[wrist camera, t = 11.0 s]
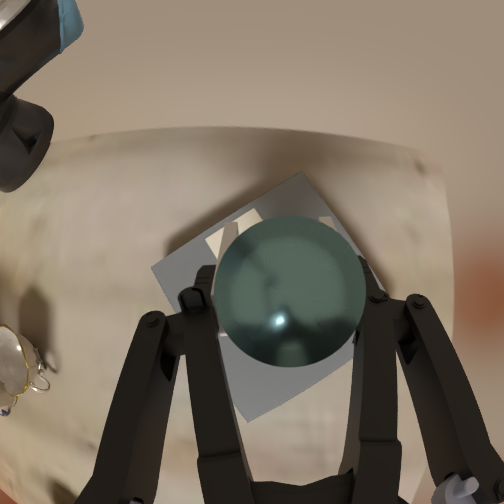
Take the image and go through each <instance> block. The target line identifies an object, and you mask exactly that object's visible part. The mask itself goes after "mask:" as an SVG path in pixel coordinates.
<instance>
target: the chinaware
mask: <svg viewBox="0 0 504 504" xmlns="http://www.w3.org/2000/svg"><path fill="white" fill-rule="evenodd" d="M41 362H42V360H41V358H40V355H39V352H38V348H34V347H33V346H32V344H31V343H30V342H29V341H28V340H27V339H26V338H25V337H24V336H22V335H20V334H18V333H15V332H14V331H13V330H12V329H11V328H9V326H8V325H6V324H4V325H1V326H0V416H8V415H9V414H10V411H11V407H13V406H14V405H15V404H16V402H17V396H19V395H21V394H23V393H24V392H25V391H26V390H27V389H28V388H29V386H30V387H31V388H32V389H33V390H35V391H36V392H39V393H46V392H48V391H49V390H50V384H49V382H48V381H47V380H46V379H45V378H43V377H42V376H43V375H44V373H45V372H44V371H43V370H42V369H40V370H39V368H40V365H41ZM37 374H38V375H39V377H40V378H41V379H42V380H43V381H44V382H46V384H47V385H48V389H45V390H43V389H39V388H36V387H34V385H35V384H34V381H35V379H36V377H37Z"/></svg>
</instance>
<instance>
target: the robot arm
mask: <svg viewBox="0 0 504 504" xmlns="http://www.w3.org/2000/svg"><path fill="white" fill-rule="evenodd" d="M83 29H84V25H83V21H82V18H81V15H80V12H79V9H78V7H77V4H76V2H75V0H0V191H2V192H5V193H8V192H12V191H14V190H16V189H17V188H19V187H20V186H21V185H22V184H23V183H24V182H25V181H26V180H27V179H28V178H29V177H30V176H31V175H32V173H33V172H34V171H35V169H36V168H37V166H38V165H39V163H40V162H41V160H42V158H43V156H44V154H45V152H46V150H47V148H48V146H49V144H50V141H51V138H52V134H53V129H54V120H53V117H52V115H51V114H50V113H49V112H48V111H46V109H44V108H43V107H41V106H38V105H36V104H32V103H30V102H27V101H24V100H21V99H18V98H17V97H15V96H14V95H13V93H14V92H15V91H16V90H17V89H18V88H19V87H20V86H21V85H22V84H23V83H24V82H25V81H26V80H28V79H29V78H30V77H31V76H32V75H33V74H34V73H36V72H37V71H38V70H39V69H40V68H41V67H43V66H44V65H45V64H46V63H48V62H49V61H50V60H52V59H53V58H54V57H55V56H57V55H58V54H61V53H62V52H63V50H64V49H65V48H66V47H68V46H69V45H70V44H71V43H73V42H74V41H75V40H77V39H78V38H79V37H80V36H81V34H82V32H83ZM318 221H320V222H322V223H324V224H326V225H328V226H329V227H331V228H333V229H334V230H335V231H337V229H336V227H335V225H334V223H333V221H332V219H331V216H327V217H319V218H318ZM337 232H338V231H337ZM238 236H239V230H238V222H225V226H224V231H223V235H222V240H221V245H220V250H219V254H218V259H217V264H216V265H202V267H201V268H200V269H199V270H198V271H197V275H196V279H195V282H194V286H191V287H188V288H185V289H184V290H182V291H181V292H180V293H179V294H178V298H177V299H178V302H179V305H180V308H181V312H179V313H177V314H173V315H169V316H165V315H164V313H162V312H161V311H150V312H148V313H146V314H145V315H143V316H142V317H141V319H140V321H139V323H138V326H137V329H136V331H135V334H134V337H133V340H132V342H131V345H130V348H129V351H128V354H127V357H126V359H125V362H124V365H123V368H122V371H121V374H120V377H119V381H118V384H117V387H116V390H115V393H114V396H113V400H112V403H111V406H110V410H109V413H108V417H107V420H106V424H105V427H104V431H103V435H102V438H101V442H100V446H99V450H98V454H97V458H96V463H95V467H94V471H93V475H92V477H91V478H90V480H89V481H88V483H87V484H86V486H85V487H84V489H83V491H82V492H81V494H80V495H79V497H78V498H77V500H76V501H75V503H74V504H153V502H154V499H155V496H156V491H157V486H158V479H159V472H160V465H161V459H162V453H163V446H164V440H165V434H166V428H167V423H168V417H169V412H170V406H171V401H172V395H173V390H174V385H175V380H176V375H177V370H178V365H179V360H180V356H181V355H184V354H185V356H186V366H187V375H188V384H189V392H190V400H191V407H192V415H193V421H194V428H195V434H196V441H197V447H198V453H199V456H198V459H197V467H198V473H199V478H200V484H201V489H202V493H203V498H204V503H205V504H409V503H407V502H406V501H405V500H404V499H402V498H401V497H400V496H398V490H399V481H400V471H401V458H402V445H401V442H400V441H399V440H398V439H397V417H398V395H397V366H396V352H397V354H398V357H399V360H400V363H401V366H402V369H403V372H404V375H405V378H406V381H407V385H408V388H409V391H410V394H411V398H412V401H413V405H414V408H415V412H416V415H417V419H418V423H419V426H420V430H421V434H422V438H423V442H424V447H425V451H426V456H427V460H428V465H429V469H430V472H431V476H432V478H433V481H434V483H435V486H436V487H437V488H436V490H435V491H434V494H433V496H432V499H431V503H432V504H498V503H501V502H503V501H504V462H503V461H502V460H501V458H500V457H499V455H498V453H497V452H496V451H495V449H494V448H493V446H492V445H491V443H490V440H489V437H488V433H487V430H486V427H485V424H484V422H483V418H482V415H481V412H480V409H479V407H478V404H477V401H476V399H475V396H474V394H473V391H472V388H471V386H470V384H469V381H468V379H467V376H466V374H465V372H464V369H463V367H462V365H461V362H460V360H459V358H458V356H457V354H456V352H455V349H454V347H453V345H452V343H451V341H450V339H449V337H448V335H447V333H446V331H445V329H444V327H443V325H442V323H441V321H440V319H439V317H438V316H437V314H436V312H435V310H434V308H433V306H432V305H431V303H430V301H429V300H428V299H427V298H426V297H425V296H423V295H420V294H411V295H409V296H408V297H407V299H406V301H402V300H395V299H391V298H390V297H389V295H388V294H387V293H386V292H385V291H383V290H381V289H380V288H379V286H378V283H377V281H376V279H375V277H374V275H373V273H372V271H371V269H370V268H369V265H368V263H367V261H366V260H365V259H364V258H363V257H362V256H360V255H357V256H358V258H359V261H360V263H361V265H362V269H363V272H364V277H365V283H366V298H365V306H364V310H363V314H362V317H361V319H360V322H359V324H358V326H357V328H356V329H355V333H354V337H353V341H352V344H354V355H353V372H352V385H351V397H350V407H349V416H348V425H347V432H346V440H345V447H344V453H343V458H342V462H341V465H340V468H339V471H338V475H335V476H330V477H327V478H324V479H322V480H319V481H316V482H313V483H310V484H307V485H304V486H298V485H291V484H285V483H279V482H273V481H265V482H254V481H253V477H252V474H251V471H250V468H249V465H248V461H247V457H246V454H245V450H244V446H243V442H242V438H241V434H240V430H239V426H238V422H237V418H236V414H235V410H234V406H233V402H232V398H231V393H230V389H229V384H228V380H227V376H226V371H225V366H224V362H223V357H222V352H221V348H220V343H219V339H218V333H219V332H220V336H228V335H227V334H226V332H225V331H224V329H223V327H222V325H221V323H220V321H219V318H218V315H217V312H216V307H215V301H214V282H215V276H216V272H217V269H218V266H219V263H220V261H221V259H222V257H223V255H224V253H225V252H226V250H227V248H228V247H229V246H230V245H231V243H232V242H233V241H234V240H235V239H236V238H237V237H238ZM395 349H396V350H395Z"/></svg>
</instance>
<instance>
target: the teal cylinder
mask: <svg viewBox="0 0 504 504" xmlns="http://www.w3.org/2000/svg"><path fill="white" fill-rule="evenodd" d="M365 298H366V283H365V277H364V272H363V269H362V265H361V263H360V261H359V258H358V256H357V255H356V253H355V251H354V250H353V248H352V247H351V245H350V244H349V243H348V242H347V240H346V239H345V238H344V237H342V236H341V235H340V234H339V233H338V232H337V231H335V230H334V229H333V228H331V227H329V226H328V225H326V224H324V223H322V222H320V221H317V220H315V219H311V218H307V217H302V216H279V217H274V218H270V219H266V220H264V221H261V222H258V223H256V224H255V225H253V226H251V227H249V228H248V229H246V230H245V231H244V232H242V233H241V234H240V235H239V236H238V237H237V238H236V239H235V240H234V241H233V242H232V243H231V245H230V246H229V247H228V248H227V250H226V252H225V253H224V255H223V257H222V259H221V261H220V263H219V266H218V269H217V272H216V276H215V282H214V301H215V307H216V312H217V315H218V318H219V321H220V323H221V325H222V327H223V329H224V331H225V332H226V334H227V335H228V337H229V338H230V339H231V341H232V342H233V343H234V344H235V345H236V346H237V347H238V348H239V349H240V350H242V351H243V352H244V353H245V354H247V355H248V356H250V357H252V358H254V359H255V360H258V361H260V362H262V363H265V364H268V365H272V366H277V367H285V368H288V367H302V366H307V365H311V364H314V363H317V362H319V361H321V360H324V359H326V358H327V357H329V356H331V355H332V354H334V353H335V352H336V351H337V350H339V349H340V348H341V347H342V346H343V345H344V344H345V343H346V342H347V341H348V340H349V338H350V337H351V336H352V334H353V333H354V331H355V329H356V328H357V326H358V324H359V322H360V319H361V317H362V314H363V310H364V306H365Z"/></svg>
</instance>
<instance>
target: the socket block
mask: <svg viewBox="0 0 504 504" xmlns="http://www.w3.org/2000/svg"><path fill="white" fill-rule="evenodd" d="M279 216H302V217H307V218H311V219H315V220H317V221H318V218H319V217H327V216H331V219H332V221H333V223H334V225H335V227H336V229H337V231H338V233H339V234H340V235H341V236H342V237H344V238H345V239H346V240H347V242H348V243H349V244H350V245H351V247H352V248H353V250H354V251H355V253H356V255H360V256H362V257H363V255H362V254H361V252H360V251H359V249H358V248H357V246H356V245H355V243H354V242H353V241H352V239H351V238H350V236H349V235H348V233H347V232H346V231H345V229H344V228H343V226H342V225H341V224H340V222H339V221H338V219H337V218H336V217H335V215H334V214H333V212H332V211H331V210H330V208H329V207H328V206H327V204H326V203H325V202H324V200H323V199H322V198H321V196H320V195H319V194H318V192H317V191H316V190H315V188H314V187H313V186H312V185H311V183H310V182H309V181H308V179H307V178H306V177H305V176H304V174H303V173H302V172H300V173H298V174H296V175H295V176H293V177H291V178H290V179H288V180H286V181H285V182H283V183H281V184H280V185H278V186H276V187H275V188H273V189H271V190H270V191H268V192H266V193H265V194H263V195H261V196H260V197H258V198H257V199H255V200H253V201H252V202H250V203H248V204H247V205H245V206H244V207H242V208H240V209H239V210H237V211H236V212H234V213H232V214H231V215H229V216H228V217H226V218H225V219H223V220H221V221H220V222H218V223H217V224H215V225H214V226H212V227H211V228H209V229H207V230H206V231H204V232H203V233H201V234H200V235H198V236H197V237H195V238H194V239H192V240H191V241H189V242H188V243H186V244H185V245H183V246H182V247H180V248H179V249H177V250H176V251H174V252H173V253H171V254H170V255H168V256H167V257H165V258H164V259H162V260H161V261H159V262H158V263H156V264H155V265H153V266H152V267H151V269H152V271H153V273H154V275H155V277H156V279H157V280H158V282H159V284H160V286H161V288H162V290H163V292H164V293H165V295H166V297H167V299H168V301H169V302H170V304H171V306H172V308H173V309H174V311H175V313H176V314H177V313H179V312H181V308H180V305H179V302H178V299H177V298H178V294H179V293H180V292H181V291H182V290H184V289H185V288H188V287H191V286H194V282H195V279H196V275H197V271H198V270H199V269H200V268H201V267H202V265H216V264H217V259H218V254H219V250H220V245H221V240H222V235H223V231H224V226H225V222H238V230H239V235H240V234H241V233H242V232H244V231H245V230H246V229H248V228H249V227H251V226H253V225H255V224H256V223H258V222H261V221H264V220H266V219H270V218H274V217H279ZM363 258H364V257H363ZM364 259H365V258H364ZM368 265H369V264H368ZM369 268H370V269H371V267H370V266H369ZM371 271H372V273H373V275H374V277H375V279H376V281H377V283H378V286H379V288H380V289H381V290H383V291H385V289H384V288H383V286H382V284H381V283H380V281H379V280H378V278H377V277H376V275H375V273H374V272H373V270H372V269H371ZM385 292H386V291H385ZM386 293H387V292H386ZM354 333H355V331H354ZM354 333H353V334H352V336H351V337H350V338H349V340H348V341H347V342H346V343H345V344H344V345H343V346H342V347H341V348H340V349H339V350H337V351H336V352H335V353H334V354H332V355H331V356H329V357H327V358H326V359H324V360H321V361H319V362H317V363H314V364H311V365H307V366H302V367H288V368H285V367H277V366H272V365H268V364H265V363H262V362H260V361H258V360H255V359H254V358H252V357H250V356H248V355H247V354H245V353H244V352H243V351H242V350H240V349H239V348H238V347H237V346H236V345H235V344H234V343H233V342H232V341H231V339H230V338H229V337H228V336H220V332H219V333H218V339H219V343H220V348H221V352H222V357H223V362H224V366H225V371H226V376H227V380H228V384H229V389H230V393H231V398H232V402H233V403H234V405H235V406H236V408H237V409H238V410H239V412H240V413H241V414H242V416H243V417H244V418H245V420H246V421H247V423H248V422H250V421H252V420H254V419H255V418H257V417H259V416H261V415H263V414H265V413H267V412H269V411H270V410H272V409H274V408H276V407H278V406H279V405H281V404H283V403H285V402H286V401H288V400H290V399H291V398H293V397H295V396H296V395H298V394H300V393H301V392H303V391H305V390H306V389H308V388H309V387H311V386H313V385H314V384H316V383H317V382H319V381H320V380H322V379H323V378H325V377H326V376H328V375H329V374H331V373H332V372H334V371H335V370H337V369H338V368H340V367H341V366H343V365H344V364H345V363H347V362H348V361H350V360H351V359H352V358H353V355H354V344H352V341H353V337H354Z"/></svg>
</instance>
